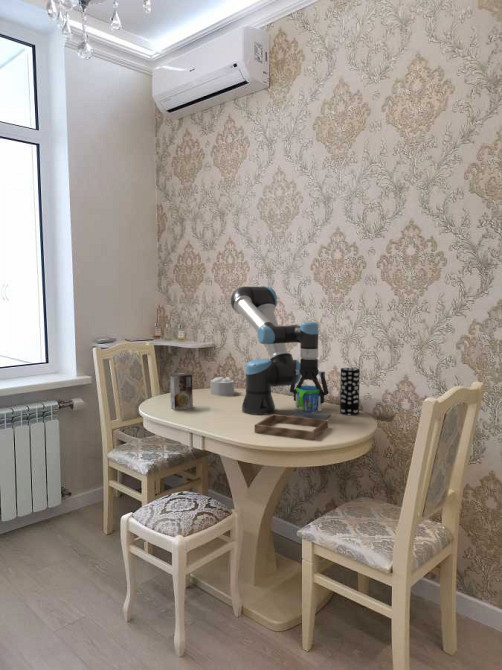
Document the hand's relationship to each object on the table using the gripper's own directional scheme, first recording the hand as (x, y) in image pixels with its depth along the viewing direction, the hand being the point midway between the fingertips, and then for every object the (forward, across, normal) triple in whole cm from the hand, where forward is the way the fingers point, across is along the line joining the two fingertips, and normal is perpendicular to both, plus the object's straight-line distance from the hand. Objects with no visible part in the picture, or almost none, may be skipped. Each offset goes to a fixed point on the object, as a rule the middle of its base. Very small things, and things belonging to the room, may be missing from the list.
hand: (308, 409), depth 224 cm
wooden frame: (+4, 0, -21) cm, 21 cm away
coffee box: (+4, -60, -7) cm, 61 cm away
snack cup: (+1, 0, 0) cm, 1 cm away
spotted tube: (+4, +14, +16) cm, 22 cm away
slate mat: (+4, 0, 0) cm, 4 cm away
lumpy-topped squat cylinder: (+4, -57, +30) cm, 65 cm away
